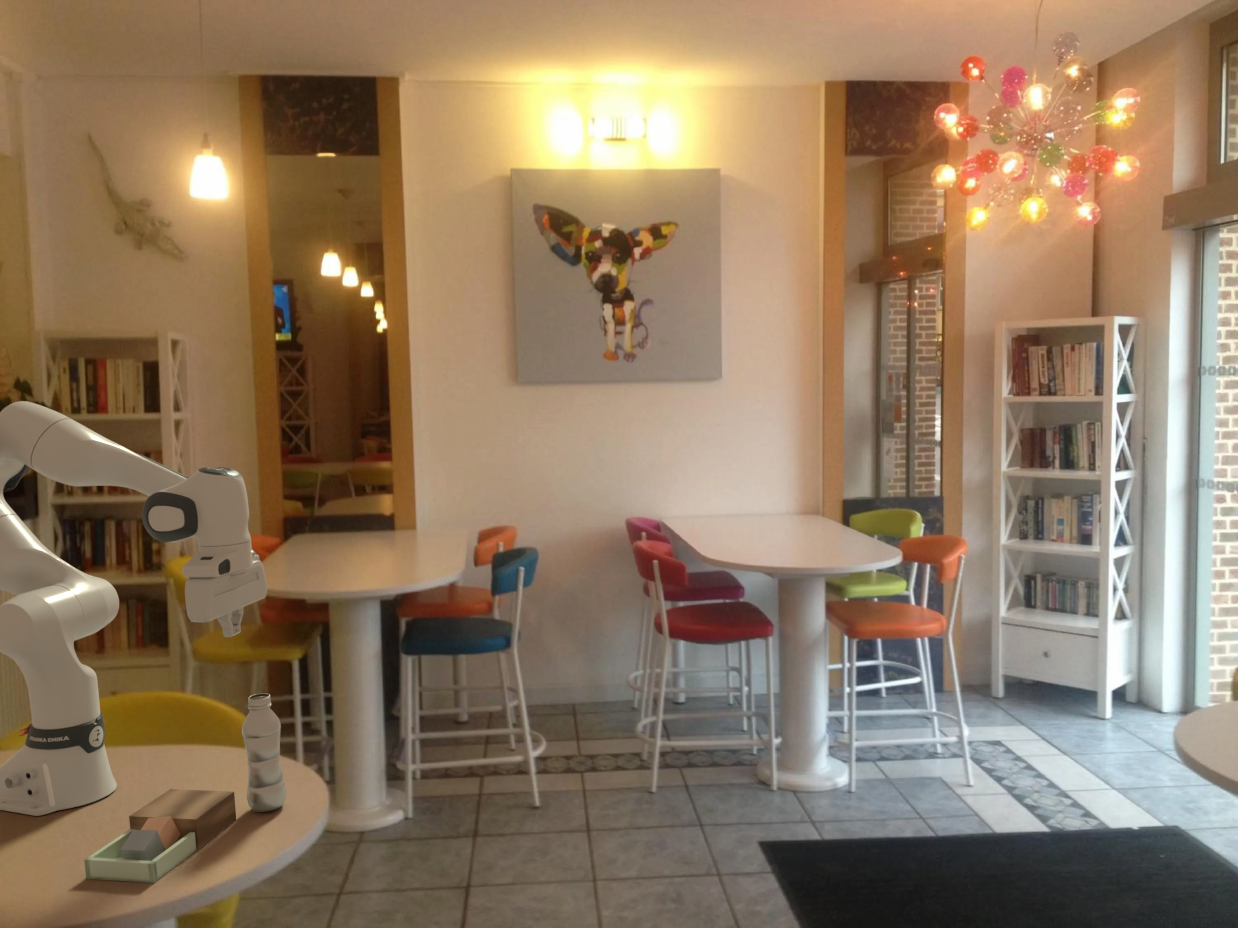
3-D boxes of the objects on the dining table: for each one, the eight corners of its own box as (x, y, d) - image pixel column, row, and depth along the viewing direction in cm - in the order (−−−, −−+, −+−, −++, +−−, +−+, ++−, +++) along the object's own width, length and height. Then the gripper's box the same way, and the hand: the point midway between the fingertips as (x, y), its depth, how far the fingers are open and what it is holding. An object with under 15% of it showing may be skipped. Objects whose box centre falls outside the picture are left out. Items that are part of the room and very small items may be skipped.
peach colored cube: (135, 837, 166) (148, 817, 169) (146, 855, 167) (158, 836, 171) (158, 835, 165) (170, 815, 168) (168, 853, 167) (180, 834, 170)
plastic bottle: (295, 802, 187) (287, 691, 185) (271, 818, 180) (262, 703, 179) (264, 799, 189) (256, 689, 187) (239, 814, 183) (230, 701, 181)
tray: (86, 878, 161) (84, 859, 161) (131, 846, 172) (130, 828, 172) (154, 882, 159) (152, 863, 159) (196, 850, 169) (194, 832, 169)
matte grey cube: (140, 848, 167) (127, 868, 163) (133, 829, 165) (119, 849, 161) (164, 848, 166) (151, 869, 163) (157, 830, 164) (143, 850, 161)
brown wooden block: (131, 845, 172) (129, 815, 172) (173, 816, 183) (170, 788, 182) (198, 849, 170) (196, 819, 169) (236, 819, 180) (234, 791, 180)
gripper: (241, 548, 199) (247, 620, 200) (175, 569, 179) (182, 650, 180) (272, 547, 198) (278, 621, 199) (209, 569, 178) (216, 650, 179)
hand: (232, 635), depth 189 cm, fingers closed
